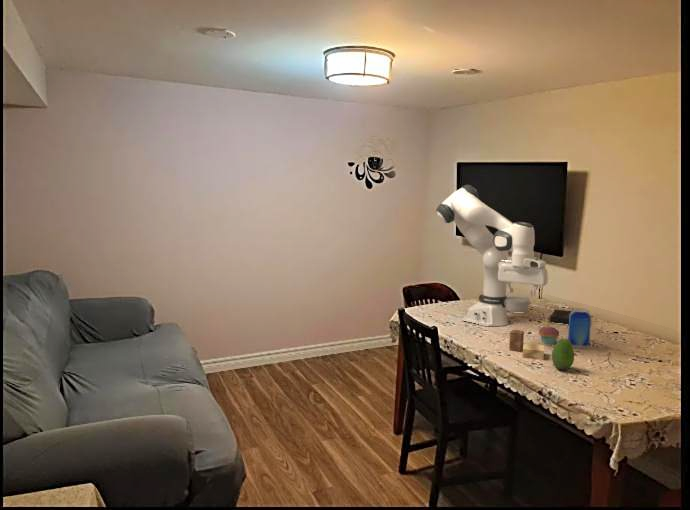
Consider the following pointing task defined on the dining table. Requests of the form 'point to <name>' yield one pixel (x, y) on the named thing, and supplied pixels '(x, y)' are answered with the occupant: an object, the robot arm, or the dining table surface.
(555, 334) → the cupcake
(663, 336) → the dining table surface
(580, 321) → the beer can
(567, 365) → the avocado
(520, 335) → the walnut block
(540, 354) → the oak block
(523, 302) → the ramekin
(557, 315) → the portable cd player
